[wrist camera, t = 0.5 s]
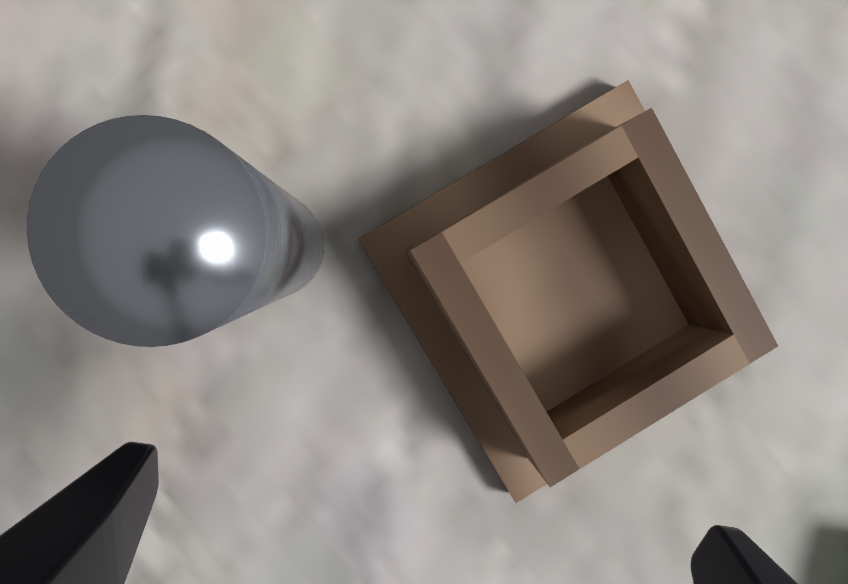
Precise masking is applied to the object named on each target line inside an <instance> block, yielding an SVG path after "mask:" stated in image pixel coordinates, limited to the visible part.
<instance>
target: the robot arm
mask: <svg viewBox="0 0 848 584" xmlns="http://www.w3.org/2000/svg"><path fill="white" fill-rule="evenodd" d="M158 483H159V480H158V454H157V449H156V447H155V446H154V445H151V444H144V443H137V442H128V443H126V444H124V445H122V446H121V447H120V448H118V449H117V450H115V451H114V452H113V453H111V454H110V455H109V456H107V457H106V458H105V459H103V460H102V461H101V462H99V463H98V464H96V465H95V466H94V467H92V468H91V469H90V470H88V471H87V472H86V473H84V474H83V475H82V476H80V477H79V478H78V479H76V480H75V481H73V482H72V483H71V484H69V485H68V486H67V487H65V488H64V489H63V490H61V491H60V492H59V493H57V494H56V495H54V496H53V497H52V498H50V499H49V500H48V501H46V502H45V503H44V504H42V505H41V506H40V507H38V508H37V509H36V510H34V511H33V512H31V513H30V514H29V515H27V516H26V517H25V518H23V519H22V520H21V521H19V522H18V523H17V524H15V525H14V526H12V527H11V528H10V529H8V530H7V531H6V532H4V533H3V534H2V535H0V584H124V583H125V580H126V578H127V575H128V572H129V569H130V567H131V564H132V561H133V558H134V555H135V553H136V550H137V547H138V544H139V542H140V539H141V536H142V533H143V531H144V528H145V525H146V522H147V520H148V517H149V514H150V511H151V509H152V506H153V503H154V500H155V497H156V494H157V490H158ZM691 573H692V578H693V583H694V584H797V583H796V582H795V581H794V580H793V579H792V578H791V577H790V576H789V575H788V574H787V573H786V572H785V571H784V570H783V569H782V568H781V567H780V566H779V565H778V564H776V563H775V562H774V561H773V560H772V559H771V558H770V557H769V556H768V555H767V554H766V553H765V552H764V551H763V550H762V549H761V548H760V547H759V546H758V545H757V544H755V543H754V542H753V541H752V540H751V539H750V538H749V537H748V536H747V535H746V534H745V533H744V532H743V531H741V530H740V529H737V528H734V527H727V526H720V525H715V526H713V527H711V528H710V529H709V530H708V532H707V533H706V535H705V536H704V538H703V539H702V541H701V542H700V544H699V545H698V547H697V548H696V550H695V551H694V553H693V555H692V558H691Z"/></svg>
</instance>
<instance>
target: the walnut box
mask: <svg viewBox="0 0 848 584" xmlns="http://www.w3.org/2000/svg"><path fill="white" fill-rule="evenodd" d="M358 240H359V241H360V243H361V245H362V246H363V248H364V250H365V251H366V253H367V255H368V256H369V258H370V260H371V261H372V263H373V265H374V266H375V268H376V270H377V272H378V273H379V275H380V277H381V278H382V280H383V282H384V283H385V285H386V287H387V288H388V290H389V292H390V293H391V295H392V297H393V298H394V300H395V302H396V303H397V305H398V307H399V308H400V310H401V312H402V313H403V315H404V317H405V318H406V320H407V322H408V323H409V325H410V327H411V329H412V330H413V332H414V334H415V335H416V337H417V339H418V340H419V342H420V344H421V345H422V347H423V349H424V350H425V352H426V354H427V355H428V357H429V359H430V360H431V362H432V364H433V365H434V367H435V369H436V370H437V372H438V374H439V375H440V377H441V379H442V380H443V382H444V384H445V385H446V387H447V389H448V391H449V392H450V394H451V396H452V397H453V399H454V401H455V402H456V404H457V406H458V407H459V409H460V411H461V412H462V414H463V416H464V417H465V419H466V421H467V422H468V424H469V426H470V427H471V429H472V431H473V432H474V434H475V436H476V437H477V439H478V441H479V442H480V444H481V446H482V448H483V449H484V451H485V453H486V454H487V456H488V458H489V459H490V461H491V463H492V464H493V466H494V468H495V469H496V471H497V473H498V474H499V476H500V478H501V479H502V481H503V483H504V484H505V486H506V488H507V489H508V491H509V493H510V494H511V496H512V498H513V499H514V501H515V503H517V502H518V501H520V500H522V499H523V498H525V497H527V496H528V495H530V494H531V493H533V492H535V491H536V490H538V489H539V488H541V487H543V486H544V485H546V484H548V485H549V487H551V486H553V485H555V484H556V483H558V482H559V481H561V480H563V479H564V478H566V477H568V476H569V475H571V474H572V473H574V472H576V471H577V470H579V469H581V468H582V467H584V466H585V465H587V464H589V463H590V462H592V461H593V460H595V459H597V458H598V457H600V456H602V455H603V454H605V453H606V452H608V451H610V450H611V449H613V448H614V447H616V446H618V445H619V444H621V443H623V442H624V441H626V440H627V439H629V438H631V437H632V436H634V435H635V434H637V433H639V432H640V431H642V430H644V429H645V428H647V427H648V426H650V425H652V424H653V423H655V422H656V421H658V420H660V419H661V418H663V417H665V416H666V415H668V414H669V413H671V412H673V411H674V410H676V409H677V408H679V407H681V406H682V405H684V404H686V403H687V402H689V401H690V400H692V399H694V398H695V397H697V396H698V395H700V394H702V393H703V392H705V391H707V390H708V389H710V388H711V387H713V386H715V385H716V384H718V383H719V382H721V381H723V380H724V379H726V378H728V377H729V376H731V375H732V374H734V373H736V372H737V371H739V370H741V369H742V368H744V367H745V366H747V365H749V364H750V363H752V362H753V361H755V360H757V359H758V358H760V357H762V356H763V355H765V354H766V353H768V352H770V351H771V350H773V349H774V348H776V347H778V345H777V343H776V341H775V339H774V337H773V335H772V333H771V331H770V330H769V328H768V326H767V324H766V322H765V320H764V318H763V316H762V314H761V313H760V311H759V309H758V307H757V305H756V303H755V301H754V299H753V298H752V296H751V294H750V292H749V290H748V288H747V286H746V284H745V282H744V281H743V279H742V277H741V275H740V273H739V271H738V269H737V267H736V266H735V264H734V262H733V260H732V258H731V256H730V254H729V252H728V251H727V249H726V247H725V245H724V243H723V241H722V239H721V237H720V235H719V234H718V232H717V230H716V228H715V226H714V224H713V222H712V220H711V219H710V217H709V215H708V213H707V211H706V209H705V207H704V205H703V203H702V202H701V200H700V198H699V196H698V194H697V192H696V190H695V188H694V187H693V185H692V183H691V181H690V179H689V177H688V175H687V173H686V172H685V170H684V168H683V166H682V164H681V162H680V160H679V158H678V156H677V155H676V153H675V151H674V149H673V147H672V145H671V143H670V141H669V140H668V138H667V136H666V134H665V132H664V130H663V128H662V126H661V124H660V123H659V121H658V119H657V117H656V115H655V113H654V111H653V109H652V108H651V109H649V110H647V111H645V110H644V108H643V107H642V105H641V103H640V101H639V99H638V97H637V95H636V93H635V92H634V90H633V88H632V86H631V84H630V82H629V80H628V81H626V82H624V83H622V84H621V85H619V86H617V87H616V88H614V89H612V90H611V91H609V92H607V93H605V94H604V95H602V96H600V97H599V98H597V99H595V100H594V101H592V102H590V103H588V104H587V105H585V106H583V107H582V108H580V109H578V110H577V111H575V112H573V113H571V114H570V115H568V116H566V117H565V118H563V119H561V120H560V121H558V122H556V123H554V124H553V125H551V126H549V127H548V128H546V129H544V130H543V131H541V132H539V133H537V134H536V135H534V136H532V137H531V138H529V139H527V140H526V141H524V142H522V143H520V144H519V145H517V146H515V147H514V148H512V149H510V150H509V151H507V152H505V153H503V154H502V155H500V156H498V157H497V158H495V159H493V160H492V161H490V162H488V163H486V164H485V165H483V166H481V167H480V168H478V169H476V170H475V171H473V172H471V173H469V174H468V175H466V176H464V177H463V178H461V179H459V180H458V181H456V182H454V183H452V184H451V185H449V186H447V187H446V188H444V189H442V190H441V191H439V192H437V193H435V194H434V195H432V196H430V197H429V198H427V199H425V200H424V201H422V202H420V203H418V204H417V205H415V206H413V207H412V208H410V209H408V210H407V211H405V212H403V213H401V214H400V215H398V216H396V217H395V218H393V219H391V220H390V221H388V222H386V223H384V224H383V225H381V226H379V227H378V228H376V229H374V230H373V231H371V232H369V233H367V234H366V235H364V236H362V237H361V238H359V239H358Z"/></svg>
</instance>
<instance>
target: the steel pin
mask: <svg viewBox="0 0 848 584" xmlns="http://www.w3.org/2000/svg"><path fill="white" fill-rule="evenodd" d="M27 237H28V246H29V251H30V255H31V259H32V263H33V265H34V268H35V270H36V273H37V275H38V278H39V280H40V281H41V283H42V285H43V287H44V288H45V290H46V292H47V293H48V294H49V296H50V297H51V298H52V300H53V301H54V302H55V304H56V305H57V306H58V307H59V308H60V309H61V310H62V311H63V312H64V313H65V314H66V315H67V316H69V317H70V318H71V319H72V320H74V321H75V322H76V323H77V324H79V325H80V326H82V327H84V328H85V329H87V330H89V331H90V332H92V333H94V334H96V335H99V336H101V337H103V338H105V339H108V340H111V341H115V342H118V343H121V344H127V345H133V346H145V347H156V346H168V345H172V344H177V343H182V342H185V341H188V340H191V339H194V338H196V337H199V336H201V335H203V334H205V333H207V332H210V331H212V330H214V329H216V328H218V327H220V326H223V325H225V324H227V323H229V322H231V321H233V320H235V319H238V318H240V317H242V316H244V315H246V314H248V313H251V312H253V311H255V310H257V309H259V308H261V307H264V306H266V305H268V304H270V303H272V302H274V301H277V300H279V299H281V298H283V297H285V296H287V295H290V294H292V293H294V292H296V291H298V290H300V289H301V288H302V287H304V286H305V285H306V284H307V283H309V282H310V281H311V279H312V278H313V277H314V276H315V274H316V273H317V271H318V269H319V267H320V265H321V262H322V258H323V253H324V239H323V234H322V231H321V228H320V225H319V223H318V221H317V219H316V218H315V216H314V215H313V214H312V213H311V211H310V210H309V209H308V208H307V207H305V206H304V205H303V204H302V203H301V202H299V201H298V200H297V199H295V198H294V197H293V196H291V195H290V194H289V193H287V192H286V191H285V190H283V189H282V188H281V187H279V186H278V185H277V184H275V183H274V182H273V181H271V180H270V179H269V178H267V177H266V176H265V175H263V174H262V173H261V172H259V171H258V170H257V169H255V168H254V167H253V166H251V165H250V164H249V163H247V162H246V161H245V160H243V159H242V158H241V157H239V156H238V155H237V154H235V153H234V152H233V151H231V150H230V149H229V148H227V147H226V146H225V145H223V144H222V143H221V142H219V141H218V140H217V139H215V138H214V137H212V136H211V135H209V134H208V133H206V132H205V131H202V130H200V129H198V128H196V127H194V126H192V125H190V124H187V123H184V122H181V121H178V120H175V119H171V118H166V117H161V116H149V115H138V116H126V117H120V118H115V119H111V120H108V121H105V122H102V123H99V124H96V125H94V126H92V127H90V128H88V129H86V130H84V131H82V132H81V133H79V134H78V135H76V136H75V137H73V138H72V139H70V140H69V141H68V142H67V143H66V144H65V145H64V146H62V147H61V148H60V149H59V150H58V151H57V152H56V154H55V155H54V156H53V157H52V158H51V159H50V160H49V162H48V163H47V165H46V166H45V168H44V170H43V171H42V173H41V174H40V176H39V179H38V181H37V183H36V185H35V187H34V190H33V193H32V197H31V200H30V204H29V210H28V216H27Z"/></svg>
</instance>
